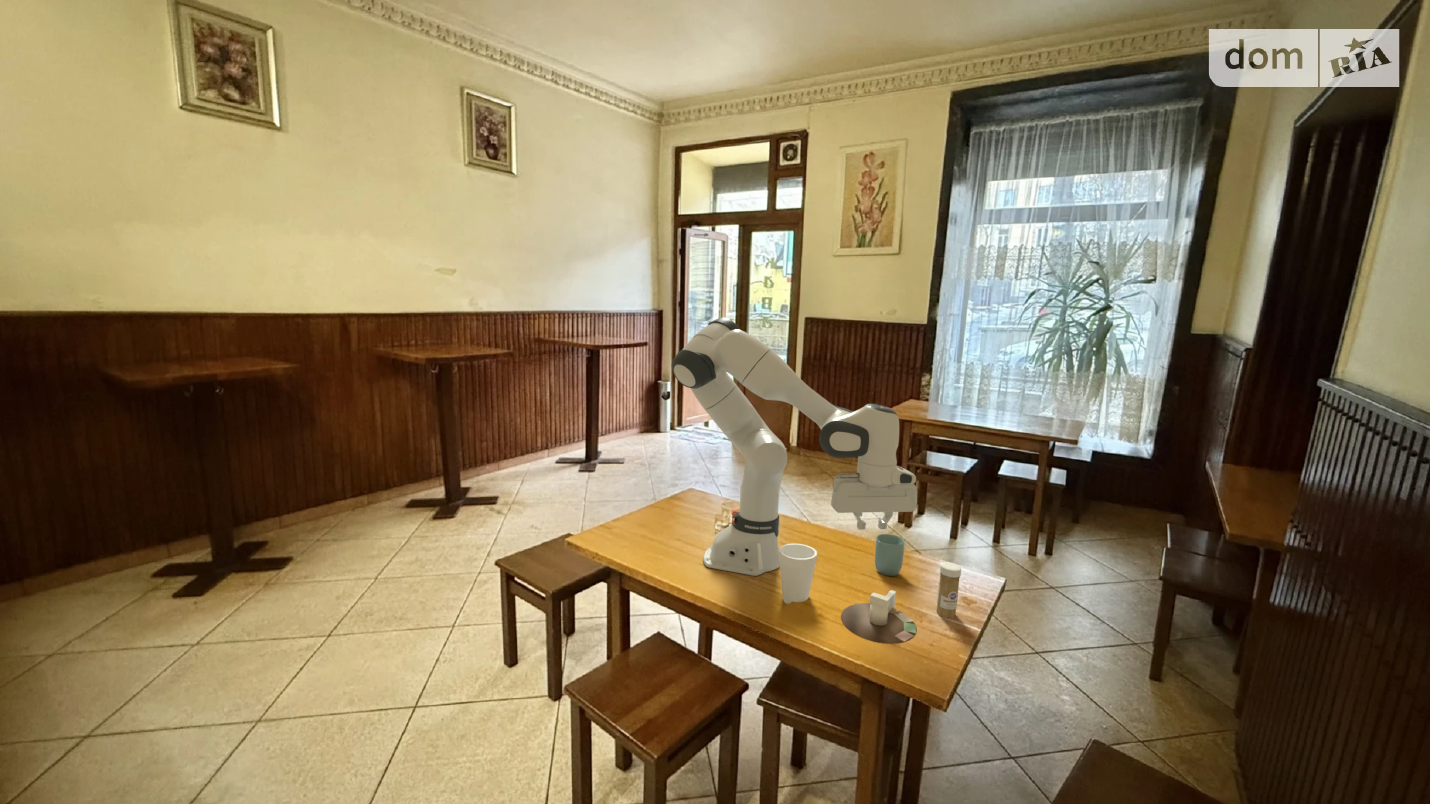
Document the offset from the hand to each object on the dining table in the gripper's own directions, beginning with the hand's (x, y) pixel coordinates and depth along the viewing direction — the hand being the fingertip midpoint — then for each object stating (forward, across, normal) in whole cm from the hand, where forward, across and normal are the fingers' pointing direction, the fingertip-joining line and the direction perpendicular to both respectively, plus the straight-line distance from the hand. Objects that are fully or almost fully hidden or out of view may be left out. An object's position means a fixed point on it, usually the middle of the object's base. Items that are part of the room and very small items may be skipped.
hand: (871, 528), depth 135 cm
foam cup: (+21, -16, +6) cm, 27 cm away
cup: (+21, +14, +19) cm, 32 cm away
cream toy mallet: (+20, +2, -5) cm, 20 cm away
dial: (+21, 0, -8) cm, 22 cm away
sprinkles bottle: (+21, +18, -5) cm, 28 cm away
